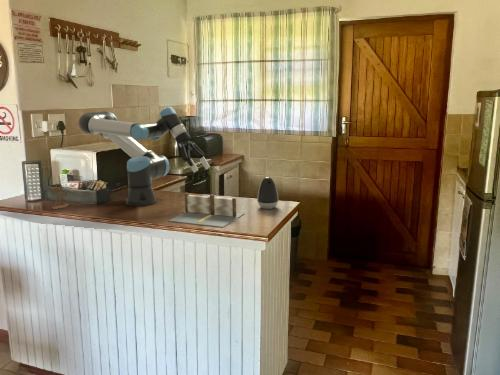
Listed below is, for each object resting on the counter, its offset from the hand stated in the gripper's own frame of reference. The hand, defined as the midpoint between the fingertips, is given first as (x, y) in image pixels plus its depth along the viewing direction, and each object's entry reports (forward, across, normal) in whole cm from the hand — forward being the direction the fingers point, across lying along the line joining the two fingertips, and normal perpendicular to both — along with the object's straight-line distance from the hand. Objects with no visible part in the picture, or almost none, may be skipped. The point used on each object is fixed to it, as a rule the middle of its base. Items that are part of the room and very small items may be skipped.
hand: (202, 169), depth 220 cm
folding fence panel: (+27, -22, -9) cm, 36 cm away
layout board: (+24, -26, -2) cm, 36 cm away
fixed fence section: (+20, -22, +2) cm, 29 cm away
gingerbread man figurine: (-21, -30, +64) cm, 74 cm away
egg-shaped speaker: (+34, -2, -20) cm, 40 cm away
